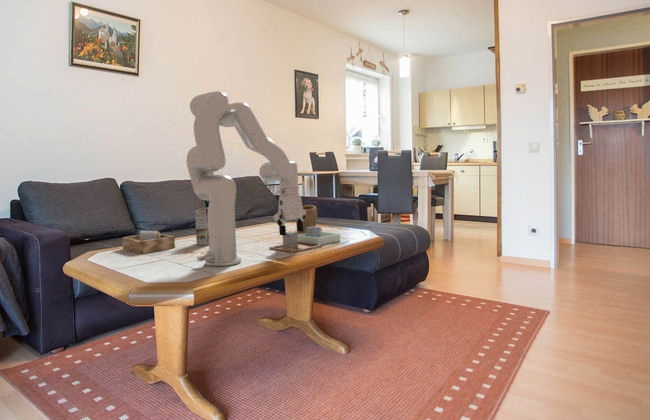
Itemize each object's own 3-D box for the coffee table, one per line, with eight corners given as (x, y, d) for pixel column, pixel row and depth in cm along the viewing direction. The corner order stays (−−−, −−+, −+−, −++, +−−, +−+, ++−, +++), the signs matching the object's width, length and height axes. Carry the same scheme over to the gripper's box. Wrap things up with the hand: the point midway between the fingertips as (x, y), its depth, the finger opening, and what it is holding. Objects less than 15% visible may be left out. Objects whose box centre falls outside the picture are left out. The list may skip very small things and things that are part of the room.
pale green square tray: (318, 247, 182) (317, 238, 182) (295, 244, 192) (294, 235, 192) (340, 242, 193) (339, 233, 192) (317, 239, 202) (316, 230, 202)
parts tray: (293, 255, 168) (292, 251, 168) (269, 251, 178) (269, 247, 177) (321, 248, 180) (321, 245, 180) (298, 245, 189) (297, 241, 189)
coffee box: (210, 245, 194) (208, 208, 192) (196, 245, 194) (194, 209, 192) (216, 241, 203) (214, 206, 201) (202, 241, 203) (200, 207, 201)
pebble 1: (290, 248, 178) (289, 233, 178) (283, 247, 181) (282, 232, 181) (298, 246, 181) (297, 232, 181) (290, 245, 184) (290, 231, 184)
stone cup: (299, 239, 204) (298, 207, 203) (290, 235, 215) (289, 205, 213) (328, 236, 210) (328, 205, 209) (319, 233, 221) (318, 203, 219)
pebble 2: (313, 241, 191) (312, 228, 190) (306, 240, 194) (305, 227, 193) (320, 240, 194) (319, 226, 194) (312, 239, 197) (312, 226, 197)
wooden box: (140, 253, 178) (139, 241, 177) (122, 248, 189) (121, 237, 189) (175, 247, 189) (175, 236, 188) (156, 243, 201) (156, 232, 200)
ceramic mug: (159, 248, 188) (158, 230, 187) (139, 249, 186) (138, 232, 186) (162, 244, 198) (161, 228, 198) (143, 246, 196) (142, 229, 196)
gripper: (279, 194, 170) (281, 237, 173) (310, 190, 183) (312, 230, 185) (267, 193, 175) (269, 235, 178) (298, 189, 188) (300, 229, 190)
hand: (291, 233), depth 181 cm, fingers open, 9 cm apart
